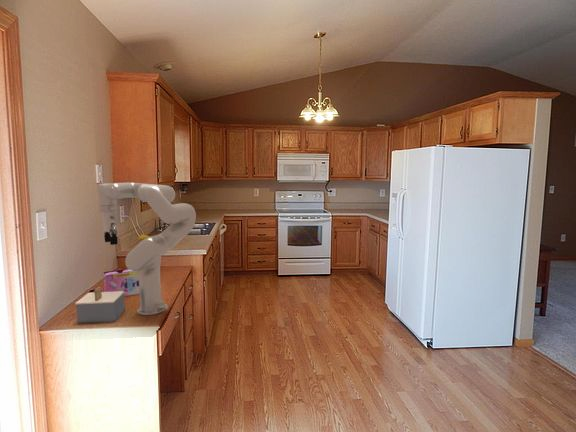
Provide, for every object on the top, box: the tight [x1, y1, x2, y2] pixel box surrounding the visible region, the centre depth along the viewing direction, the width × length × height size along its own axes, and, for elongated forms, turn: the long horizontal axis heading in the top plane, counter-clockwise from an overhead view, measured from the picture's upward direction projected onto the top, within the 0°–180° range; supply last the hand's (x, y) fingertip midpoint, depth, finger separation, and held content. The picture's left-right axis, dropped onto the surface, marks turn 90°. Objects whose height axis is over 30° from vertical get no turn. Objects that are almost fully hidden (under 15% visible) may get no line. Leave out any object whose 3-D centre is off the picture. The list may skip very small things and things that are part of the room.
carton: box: [75, 293, 126, 324], centre depth 174 cm, size 14×16×9 cm
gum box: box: [102, 268, 140, 297], centre depth 206 cm, size 24×8×14 cm, turn 124°
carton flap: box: [74, 286, 124, 305], centre depth 172 cm, size 14×16×6 cm
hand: (111, 243), depth 184 cm, fingers open, 9 cm apart
